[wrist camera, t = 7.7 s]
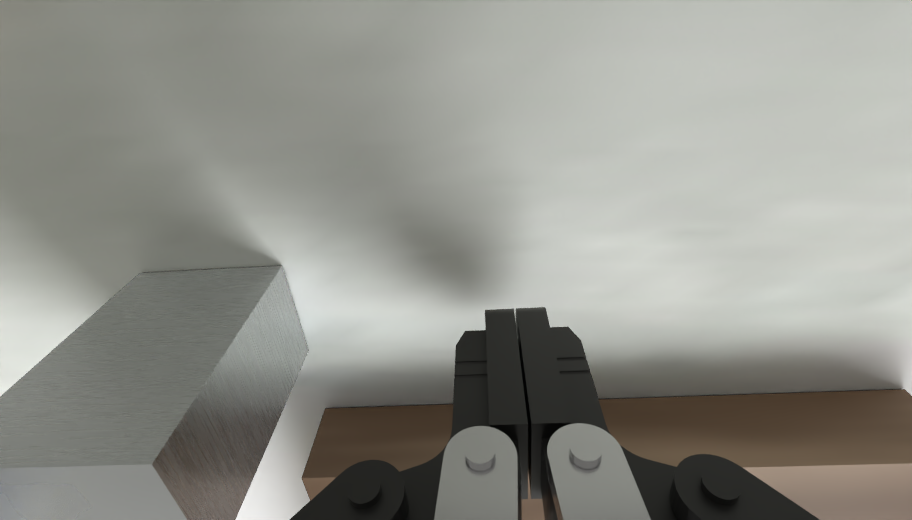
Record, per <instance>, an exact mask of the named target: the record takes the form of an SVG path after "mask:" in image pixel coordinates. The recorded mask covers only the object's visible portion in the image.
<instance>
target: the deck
mask: <svg viewBox="0 0 912 520" xmlns="http://www.w3.org/2000/svg"><path fill="white" fill-rule="evenodd" d="M599 403H600V406H601V409H602V413H603V416H604V419H605V423H606V426H607V428H608V430H609V432H610V434H611V435H612V436H613V437H614V438H615V439H616V440H617V442H618V443H619V444H620V445H621V446H622V447H624V448H625V449H626V450H628V451H630V452H631V453H633V454H635V455H637V456H640V457H642V458H645V459H648V460H652V461H656V462H660V463H664V464H667V465H671V466H675V467H677V466H678V464H679V463H680V462H681V461H682V460H683V459H685V458H687V457H689V456H692V455H696V454H711V455H716V456H720V457H723V458H726V459H728V460H730V461H732V462H734V463H736V464H737V465H739V466H741V467H742V468H744V469H745V470H747V471H748V472H750V473H751V474H753V475H754V476H756V477H757V478H759V479H760V480H762V481H763V482H765V483H766V484H768V485H769V486H771V487H772V488H774V489H775V490H776V491H778V492H779V493H781V494H782V495H784V496H785V497H787V498H788V499H790V500H791V501H793V502H794V503H796V504H797V505H799V506H800V507H802V508H803V509H805V510H806V511H808V512H809V513H811V514H812V515H814V516H815V517H817V518H818V519H820V520H912V396H911V395H910V394H909V393H908V392H907V391H906V390H905V389H899V390H869V391H839V392H809V393H779V394H749V395H719V396H689V397H658V398H628V399H599ZM452 419H453V404H448V405H417V406H387V407H357V408H327V409H325V411H324V413H323V416H322V419H321V422H320V425H319V428H318V431H317V434H316V437H315V440H314V443H313V446H312V449H311V452H310V455H309V458H308V461H307V464H306V467H305V470H304V473H303V476H302V480H303V483H304V485H305V488H306V491H307V493H308V496H309V498H310V501H311V500H312V499H313V498H314V497H315V496H316V495H317V494H319V493H320V492H321V491H322V490H323V489H324V488H325V487H326V486H327V485H328V484H330V483H331V482H332V481H333V480H334V479H335V478H336V477H337V476H338V475H340V474H341V473H342V472H343V471H344V470H346V469H347V468H348V467H350V466H352V465H354V464H356V463H358V462H362V461H366V460H381V461H385V462H388V463H390V464H391V465H393V466H394V467H395V468H396V469H397V470H398V471H399V472H400V471H403V470H406V469H409V468H412V467H415V466H418V465H421V464H423V463H426V462H428V461H429V460H431V459H433V458H434V457H436V456H437V455H438V454H439V453H440V452H441V451H442V450H443V449H444V448H445V446H446V445H447V443H448V441H449V439H450V436H451V432H452ZM522 520H545V517H544V509H543V501H542V499H531V493H530V484H529V475H528V499H522Z"/></svg>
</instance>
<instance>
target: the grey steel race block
mask: <svg viewBox="0 0 912 520" xmlns="http://www.w3.org/2000/svg"><path fill="white" fill-rule="evenodd" d="M308 351H309V350H308V347H307V343H306V340H305V337H304V334H303V331H302V327H301V324H300V321H299V318H298V314H297V311H296V308H295V305H294V302H293V298H292V295H291V292H290V289H289V285H288V282H287V279H286V276H285V273H284V269H283V266H267V267H248V268H228V269H209V270H190V271H171V272H152V273H139V274H138V275H137V276H136V277H135V278H134V279H132V280H131V281H130V282H129V283H128V284H127V285H126V286H125V287H123V288H122V289H121V290H120V291H119V292H118V293H117V294H116V295H114V296H113V297H112V298H111V299H110V300H109V301H108V302H106V303H105V304H104V305H103V306H102V307H101V308H100V309H99V310H97V311H96V312H95V313H94V314H93V315H92V316H91V317H90V318H88V319H87V320H86V321H85V322H84V323H83V324H82V325H81V326H79V327H78V328H77V329H76V330H75V331H74V332H73V333H72V334H70V335H69V336H68V337H67V338H66V339H65V340H64V341H62V342H61V343H60V344H59V345H58V346H57V347H56V348H55V349H53V350H52V351H51V352H50V353H49V354H48V355H47V356H46V357H44V358H43V359H42V360H41V361H40V362H39V363H38V364H37V365H35V366H34V367H33V368H32V369H31V370H30V371H29V372H28V373H26V374H25V375H24V376H23V377H22V378H21V379H20V380H19V381H17V382H16V383H15V384H14V385H13V386H12V387H11V388H9V389H8V390H7V391H6V392H5V393H4V394H3V395H2V396H0V520H235V519H236V517H237V514H238V512H239V510H240V507H241V505H242V503H243V501H244V498H245V496H246V494H247V491H248V489H249V487H250V484H251V482H252V480H253V478H254V475H255V473H256V471H257V468H258V466H259V464H260V461H261V459H262V457H263V455H264V452H265V450H266V448H267V445H268V443H269V441H270V438H271V436H272V434H273V432H274V429H275V427H276V425H277V422H278V420H279V418H280V416H281V413H282V411H283V409H284V406H285V404H286V402H287V399H288V397H289V395H290V393H291V390H292V388H293V386H294V383H295V381H296V379H297V376H298V374H299V372H300V370H301V367H302V365H303V363H304V360H305V358H306V356H307V353H308Z"/></svg>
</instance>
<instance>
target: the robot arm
mask: <svg viewBox="0 0 912 520" xmlns="http://www.w3.org/2000/svg"><path fill="white" fill-rule="evenodd" d="M485 322H486V330H481V331H465V332H464V334H463V335H462V337H461V338H460V340H459V342H458V343H457V345H456V357H455V378H454V398H453V419H452V432H451V436H450V439H449V441H448V443H447V445H446V446H445V448H444V449H443V450H442V451H441V452H440V453H439V454H438V455H437V456H436V457H434V458H433V459H431V460H429V461H428V462H426V463H423V464H421V465H418V466H415V467H412V468H409V469H406V470H403V471H400V472H399V471H398V470H397V469H396V468H395V467H394V466H393V465H391V464H390V463H388V462H385V461H381V460H366V461H362V462H358V463H356V464H354V465H352V466H350V467H348V468H347V469H346V470H344V471H343V472H342V473H341V474H340V475H338V476H337V477H336V478H335V479H334V480H333V481H332V482H331V483H330V484H328V485H327V486H326V487H325V488H324V489H323V490H322V491H321V492H320V493H319V494H317V495H316V496H315V497H314V498H313V499H312V500H311V501H310V502H309V503H308V504H306V505H305V506H304V507H303V508H302V509H301V510H300V511H299V512H298V513H297V514H295V515H294V516H293V517H292V518H291V519H290V520H522V499H528V475H529V484H530V493H531V499H542V501H543V509H544V517H545V520H820V519H818V518H817V517H815V516H814V515H812V514H811V513H809V512H808V511H806V510H805V509H803V508H802V507H800V506H799V505H797V504H796V503H794V502H793V501H791V500H790V499H788V498H787V497H785V496H784V495H782V494H781V493H779V492H778V491H776V490H775V489H774V488H772V487H771V486H769V485H768V484H766V483H765V482H763V481H762V480H760V479H759V478H757V477H756V476H754V475H753V474H751V473H750V472H748V471H747V470H745V469H744V468H742V467H741V466H739V465H737V464H736V463H734V462H732V461H730V460H728V459H726V458H723V457H720V456H716V455H711V454H696V455H692V456H689V457H687V458H685V459H683V460H682V461H681V462H680V463H679V464H678V466H677V467H675V466H671V465H667V464H664V463H660V462H656V461H652V460H648V459H645V458H642V457H640V456H637V455H635V454H633V453H631V452H630V451H628V450H626V449H625V448H624V447H622V446H621V445H620V444H619V443H618V442H617V440H616V439H615V438H614V437H613V436H612V435H611V434H610V432H609V430H608V428H607V426H606V423H605V419H604V416H603V413H602V409H601V406H600V403H599V399H598V396H597V393H596V389H595V386H594V383H593V379H592V376H591V374H590V369H589V366H588V363H587V360H586V356H585V353H584V349H583V346H582V342H581V340H580V339H579V338H578V337H577V336H576V335H575V334H574V333H573V332H572V331H571V329H570V328H569V327H552V328H550V326H549V321H548V317H547V312H546V309H545V307H541V308H518V309H516V323H515V315H514V309H497V310H485Z"/></svg>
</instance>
